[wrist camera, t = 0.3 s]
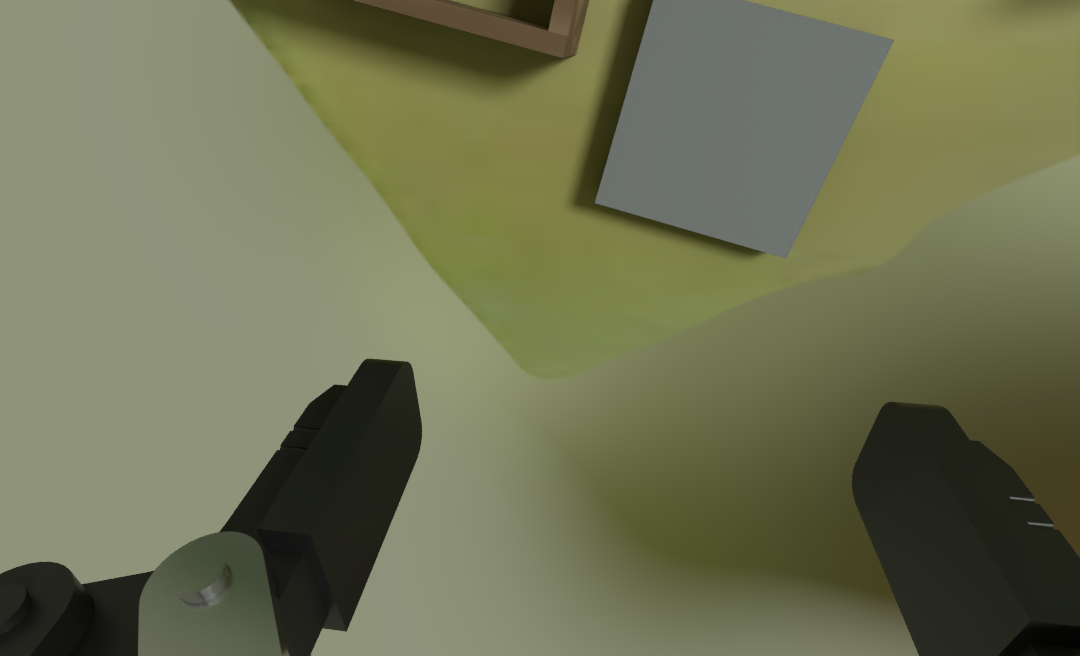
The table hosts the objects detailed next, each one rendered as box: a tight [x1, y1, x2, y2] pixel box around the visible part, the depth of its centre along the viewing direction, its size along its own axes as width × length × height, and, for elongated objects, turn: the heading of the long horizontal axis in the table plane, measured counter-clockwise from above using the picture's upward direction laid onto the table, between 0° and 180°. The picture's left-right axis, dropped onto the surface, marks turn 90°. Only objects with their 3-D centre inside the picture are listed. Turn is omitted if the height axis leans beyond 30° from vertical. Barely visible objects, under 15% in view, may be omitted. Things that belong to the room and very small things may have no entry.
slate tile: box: [595, 0, 894, 258], centre depth 32 cm, size 12×12×2 cm
